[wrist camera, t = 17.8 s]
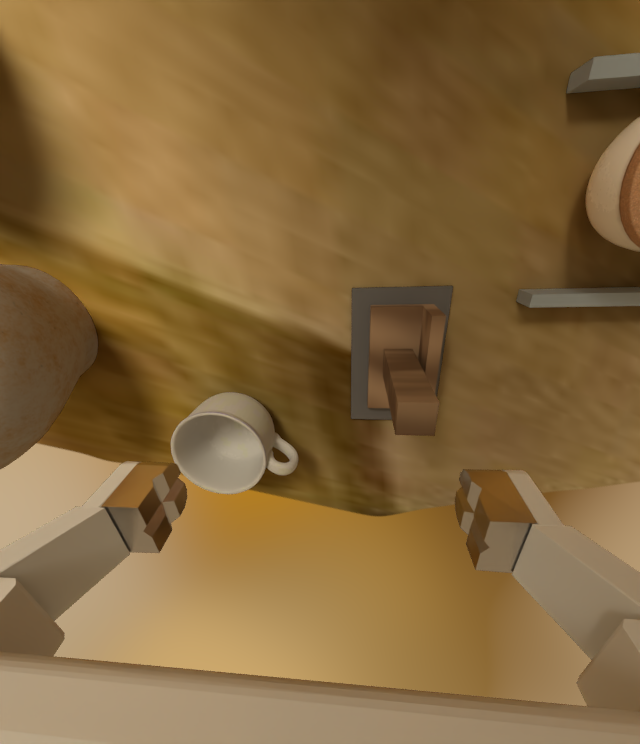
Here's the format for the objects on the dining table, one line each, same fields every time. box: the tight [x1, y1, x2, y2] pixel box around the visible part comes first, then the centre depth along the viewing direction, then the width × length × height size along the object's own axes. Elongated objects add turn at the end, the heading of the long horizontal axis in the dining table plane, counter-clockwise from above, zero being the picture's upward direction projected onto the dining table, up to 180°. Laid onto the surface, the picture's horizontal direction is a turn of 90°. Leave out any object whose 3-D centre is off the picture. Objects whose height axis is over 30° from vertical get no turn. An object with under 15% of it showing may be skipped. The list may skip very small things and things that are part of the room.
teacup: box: [171, 392, 298, 494], centre depth 37 cm, size 14×11×8 cm
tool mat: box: [351, 286, 453, 420], centre depth 34 cm, size 16×10×1 cm, turn 2°
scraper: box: [367, 304, 446, 436], centre depth 29 cm, size 12×6×12 cm, turn 2°
